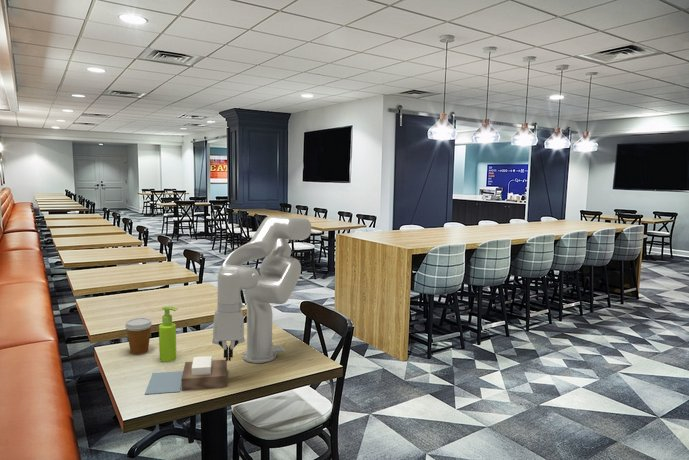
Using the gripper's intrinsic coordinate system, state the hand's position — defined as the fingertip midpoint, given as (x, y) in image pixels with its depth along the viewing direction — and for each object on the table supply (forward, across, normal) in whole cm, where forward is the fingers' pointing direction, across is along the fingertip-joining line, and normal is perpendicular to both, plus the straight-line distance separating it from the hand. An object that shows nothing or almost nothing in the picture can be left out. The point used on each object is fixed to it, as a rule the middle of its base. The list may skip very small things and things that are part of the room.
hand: (228, 359), depth 161 cm
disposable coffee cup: (+7, +34, -29) cm, 45 cm away
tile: (+3, +9, -1) cm, 9 cm away
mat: (+7, +20, -1) cm, 22 cm away
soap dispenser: (+7, +22, -20) cm, 30 cm away
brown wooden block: (+7, +8, -1) cm, 10 cm away
